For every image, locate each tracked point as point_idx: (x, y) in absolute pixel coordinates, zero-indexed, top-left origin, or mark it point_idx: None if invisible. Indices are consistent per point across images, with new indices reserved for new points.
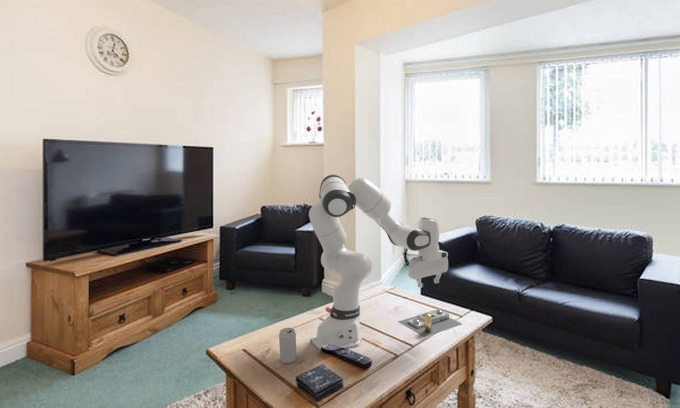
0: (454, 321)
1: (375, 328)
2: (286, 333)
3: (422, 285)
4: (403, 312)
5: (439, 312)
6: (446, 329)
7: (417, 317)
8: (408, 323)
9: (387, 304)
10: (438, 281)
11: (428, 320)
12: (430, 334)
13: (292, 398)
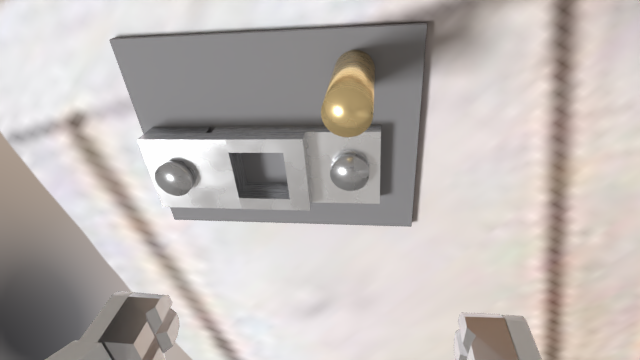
0: (140, 88)
1: (548, 233)
2: None
3: (480, 334)
4: (314, 273)
5: (185, 170)
6: (239, 34)
7: (312, 201)
8: (380, 189)
9: (325, 342)
10: (113, 309)
11: (364, 80)
12: (368, 32)
13: None
